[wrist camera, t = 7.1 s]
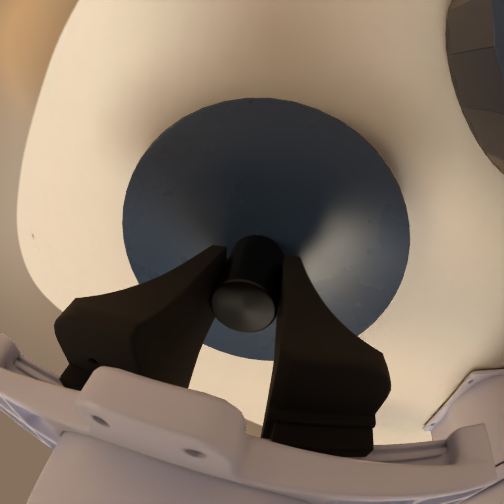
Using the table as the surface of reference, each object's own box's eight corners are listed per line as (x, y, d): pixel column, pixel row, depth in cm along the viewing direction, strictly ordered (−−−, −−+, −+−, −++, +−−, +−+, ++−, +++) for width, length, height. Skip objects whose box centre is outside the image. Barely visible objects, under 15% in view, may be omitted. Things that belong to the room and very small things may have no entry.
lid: (360, 358, 17) (366, 420, 13) (149, 324, 18) (118, 376, 14) (431, 128, 10) (487, 147, 6) (126, 99, 12) (58, 109, 8)
